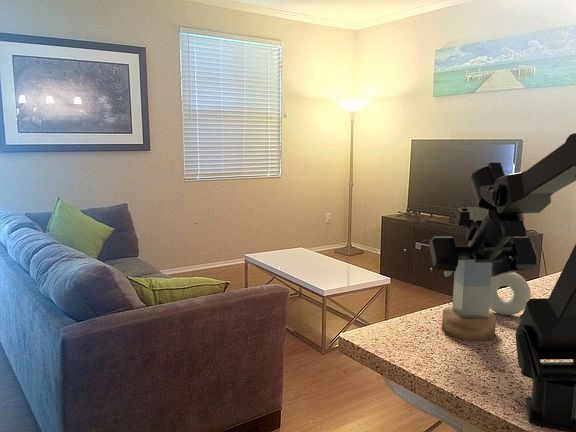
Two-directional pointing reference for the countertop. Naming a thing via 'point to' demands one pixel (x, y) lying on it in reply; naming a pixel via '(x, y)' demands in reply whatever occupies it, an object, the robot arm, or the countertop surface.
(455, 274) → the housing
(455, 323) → the pedestal
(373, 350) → the countertop surface
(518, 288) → the donut
